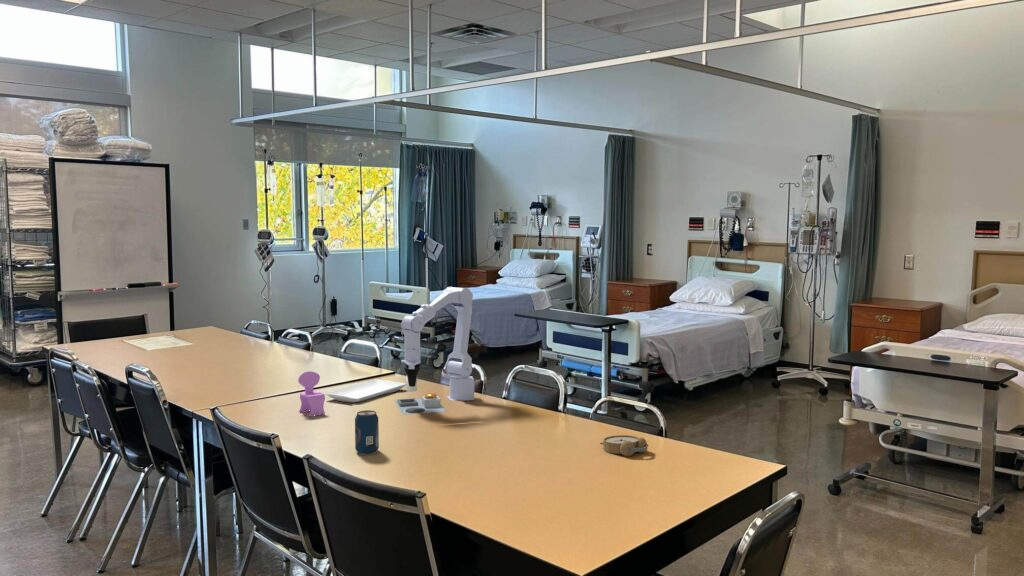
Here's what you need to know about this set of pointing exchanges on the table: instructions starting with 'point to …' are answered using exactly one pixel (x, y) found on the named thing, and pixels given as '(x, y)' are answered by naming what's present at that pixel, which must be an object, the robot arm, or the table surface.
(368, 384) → the tray
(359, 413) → the soda can
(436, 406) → the panel
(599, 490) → the table surface
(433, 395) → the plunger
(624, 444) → the alarm clock
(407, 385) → the cartridge
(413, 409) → the rubber pad
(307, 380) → the toy chair
